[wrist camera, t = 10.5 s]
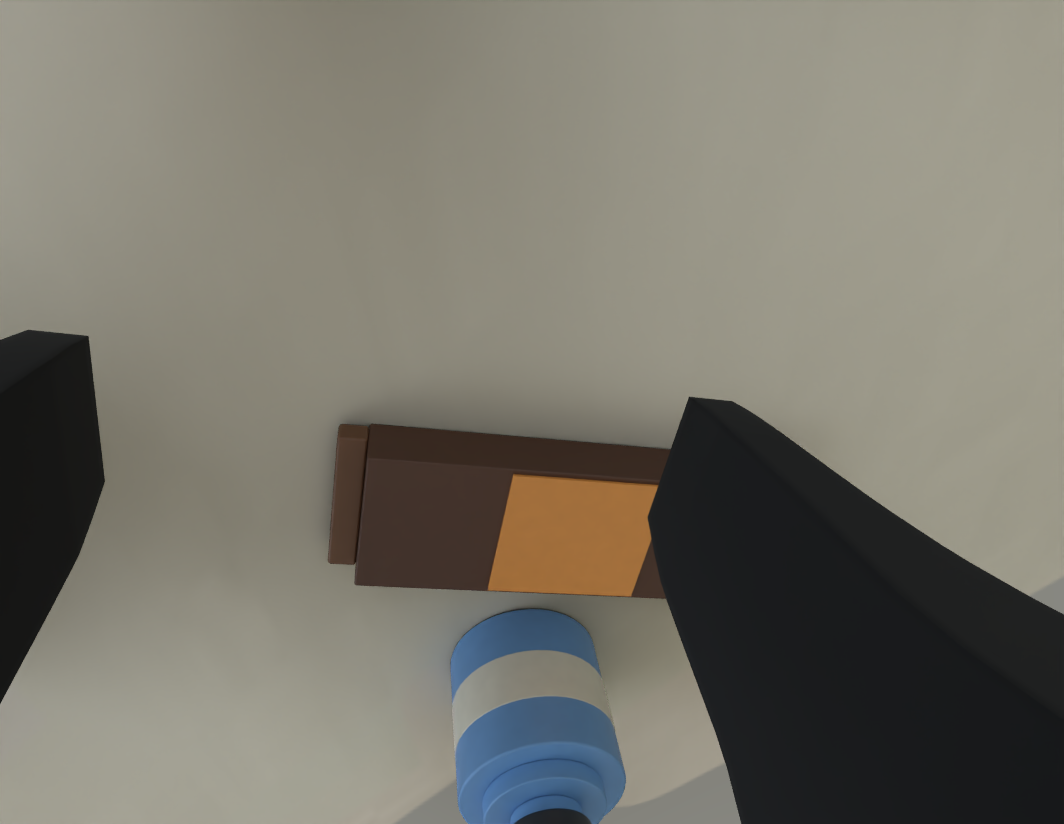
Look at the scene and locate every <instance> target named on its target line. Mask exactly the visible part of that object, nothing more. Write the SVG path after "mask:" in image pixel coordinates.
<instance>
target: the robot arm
mask: <svg viewBox="0 0 1064 824" xmlns="http://www.w3.org/2000/svg"><path fill="white" fill-rule="evenodd" d="M104 482H105V478H104V469H103V461H102V452H101V443H100V434H99V425H98V417H97V408H96V399H95V390H94V381H93V373H92V364H91V355H90V346H89V337H88V336H83V335H73V334H64V333H54V332H44V331H34V330H27V331H24V332H21V333H18V334H15V335H12V336H10V337H7V338H5V339H2V340H0V703H1V701H2V699H3V698H4V696H5V694H6V692H7V690H8V688H9V686H10V685H11V683H12V681H13V679H14V677H15V675H16V673H17V671H18V670H19V668H20V666H21V664H22V662H23V660H24V658H25V656H26V655H27V653H28V651H29V649H30V647H31V645H32V643H33V642H34V640H35V638H36V636H37V634H38V632H39V630H40V628H41V627H42V625H43V623H44V621H45V619H46V617H47V615H48V614H49V612H50V610H51V608H52V606H53V604H54V602H55V600H56V598H57V596H58V594H59V593H60V591H61V589H62V587H63V585H64V583H65V581H66V579H67V577H68V575H69V573H70V571H71V570H72V568H73V566H74V564H75V562H76V560H77V558H78V556H79V553H80V551H81V548H82V545H83V543H84V540H85V537H86V534H87V532H88V529H89V526H90V524H91V521H92V518H93V515H94V512H95V509H96V506H97V503H98V500H99V497H100V494H101V491H102V488H103V485H104ZM647 518H648V523H649V528H650V534H651V539H652V544H653V550H654V555H655V559H656V563H657V568H658V572H659V576H660V581H661V584H662V587H663V590H664V593H665V596H666V599H667V602H668V605H669V607H670V610H671V613H672V616H673V619H674V621H675V624H676V627H677V630H678V632H679V635H680V638H681V641H682V643H683V646H684V649H685V651H686V654H687V657H688V659H689V662H690V665H691V668H692V670H693V673H694V676H695V678H696V681H697V684H698V686H699V689H700V692H701V695H702V697H703V700H704V703H705V705H706V708H707V711H708V713H709V716H710V719H711V722H712V724H713V727H714V730H715V732H716V735H717V738H718V741H719V745H720V748H721V751H722V754H723V757H724V760H725V763H726V766H727V769H728V773H729V777H730V781H731V785H732V789H733V793H734V797H735V801H736V804H737V808H738V812H739V816H740V820H741V824H1064V615H1063V614H1062V613H1060V612H1058V611H1056V610H1054V609H1052V608H1050V607H1048V606H1046V605H1044V604H1043V603H1041V602H1039V601H1037V600H1035V599H1033V598H1031V597H1030V596H1028V595H1026V594H1024V593H1022V592H1021V591H1019V590H1017V589H1015V588H1014V587H1012V586H1010V585H1008V584H1007V583H1005V582H1003V581H1001V580H1000V579H998V578H996V577H994V576H993V575H991V574H989V573H987V572H986V571H984V570H982V569H980V568H979V567H977V566H975V565H973V564H972V563H970V562H968V561H967V560H965V559H963V558H962V557H960V556H959V555H957V554H955V553H954V552H952V551H950V550H949V549H947V548H945V547H944V546H942V545H941V544H939V543H938V542H936V541H935V540H933V539H932V538H930V537H928V536H927V535H925V534H924V533H922V532H921V531H919V530H918V529H916V528H915V527H913V526H912V525H910V524H909V523H907V522H906V521H904V520H903V519H901V518H900V517H898V516H897V515H895V514H894V513H892V512H891V511H889V510H888V509H886V508H885V507H883V506H882V505H881V504H879V503H878V502H876V501H875V500H873V499H872V498H870V497H869V496H868V495H866V494H865V493H863V492H862V491H861V490H859V489H858V488H856V487H855V486H854V485H852V484H851V483H849V482H848V481H847V480H845V479H844V478H842V477H841V476H840V475H838V474H837V473H836V472H834V471H833V470H831V469H830V468H829V467H827V466H826V465H825V464H823V463H822V462H821V461H819V460H818V459H816V458H815V457H814V456H812V455H811V454H810V453H808V452H807V451H805V450H804V449H803V448H801V447H800V446H799V445H797V444H796V443H795V442H793V441H792V440H790V439H789V438H788V437H786V436H785V435H784V434H782V433H781V432H779V431H778V430H777V429H775V428H774V427H772V426H771V425H769V424H768V423H767V422H765V421H764V420H762V419H761V418H759V417H758V416H756V415H755V414H753V413H752V412H750V411H748V410H747V409H745V408H743V407H742V406H740V405H738V404H736V403H734V402H733V401H724V400H715V399H705V398H695V397H689V399H688V402H687V404H686V407H685V410H684V413H683V416H682V419H681V422H680V425H679V428H678V430H677V433H676V436H675V439H674V442H673V445H672V448H671V451H670V453H669V456H668V459H667V462H666V465H665V468H664V471H663V474H662V476H661V479H660V482H659V485H658V488H657V491H656V494H655V497H654V499H653V502H652V505H651V508H650V511H649V514H648V517H647Z"/></svg>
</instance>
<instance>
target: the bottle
mask: <svg viewBox="0 0 1064 824" xmlns="http://www.w3.org/2000/svg"><path fill="white" fill-rule="evenodd" d="M451 685H452V703H453V705H452V715H453V733H454V752H455V761H456V776H457V794H458V806H459V810H460V812H461V814H462V816H463V818H464V819H465V821H466V822H467V823H468V824H599V822H600V821H601V820H602V818H603V817H604V816H605V815H606V814H607V813H608V812H609V811H611V810H612V809H613V808H614V806H615V805H616V804H617V803H618V801H619V800H620V798H621V796H622V794H623V792H624V789H625V783H626V775H625V771H624V767H623V763H622V758H621V754H620V750H619V746H618V742H617V738H616V734H615V727H614V723H613V719H612V715H611V711H610V707H609V703H608V699H607V695H606V691H605V687H604V683H603V680H602V677H601V673H600V669H599V665H598V661H597V657H596V653H595V649H594V645H593V641H592V639H591V637H590V635H589V633H588V632H587V630H586V629H585V628H584V627H583V626H582V625H581V624H580V623H579V622H577V621H576V620H574V619H573V618H571V617H569V616H566V615H564V614H561V613H558V612H554V611H550V610H542V609H523V610H516V611H510V612H506V613H502V614H499V615H496V616H494V617H491V618H489V619H487V620H485V621H483V622H481V623H479V624H478V625H476V626H475V627H473V628H472V629H471V630H470V631H468V632H467V633H466V634H465V635H464V636H463V637H462V639H461V640H460V641H459V642H458V644H457V646H456V648H455V649H454V652H453V654H452V658H451Z"/></svg>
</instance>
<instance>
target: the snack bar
mask: <svg viewBox="0 0 1064 824" xmlns="http://www.w3.org/2000/svg"><path fill="white" fill-rule="evenodd" d="M670 451H671V450H670V449H658V448H647V447H635V446H623V445H612V444H600V443H588V442H577V441H565V440H553V439H542V438H530V437H518V436H507V435H495V434H483V433H472V432H460V431H448V430H437V429H425V428H413V427H402V426H390V425H378V424H370V427H369V428H368V427H367V426H360V425H348V424H340V426H339V429H338V437H337V448H336V462H335V475H334V488H333V501H332V514H331V527H330V540H329V553H328V562H329V563H331V564H350V565H353V564H355V563H356V570H355V585H361V586H384V587H407V588H431V589H454V590H477V591H500V592H523V593H546V594H570V595H593V596H616V597H639V598H662V599H666V596H665V593H664V590H663V587H662V584H661V581H660V576H659V572H658V568H657V563H656V559H655V555H654V550H653V544H652V539H651V534H650V528H649V523H648V518H647V517H648V514H649V511H650V508H651V505H652V502H653V499H654V497H655V494H656V491H657V488H658V485H659V482H660V479H661V476H662V474H663V471H664V468H665V465H666V462H667V459H668V456H669V453H670Z"/></svg>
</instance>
